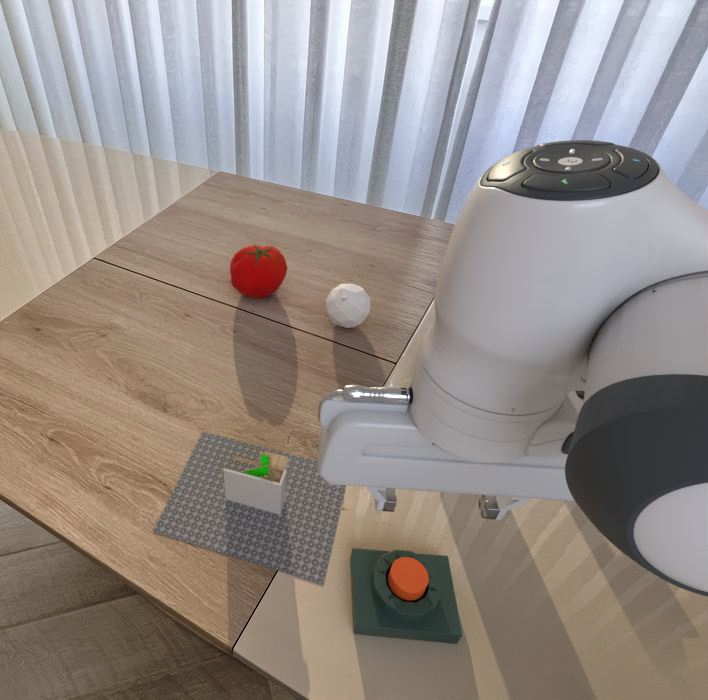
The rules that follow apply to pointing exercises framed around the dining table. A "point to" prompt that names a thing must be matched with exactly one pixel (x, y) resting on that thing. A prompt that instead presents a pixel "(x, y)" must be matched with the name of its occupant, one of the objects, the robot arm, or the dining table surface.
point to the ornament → (347, 305)
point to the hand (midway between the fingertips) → (435, 508)
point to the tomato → (258, 271)
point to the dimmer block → (398, 614)
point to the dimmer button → (408, 578)
